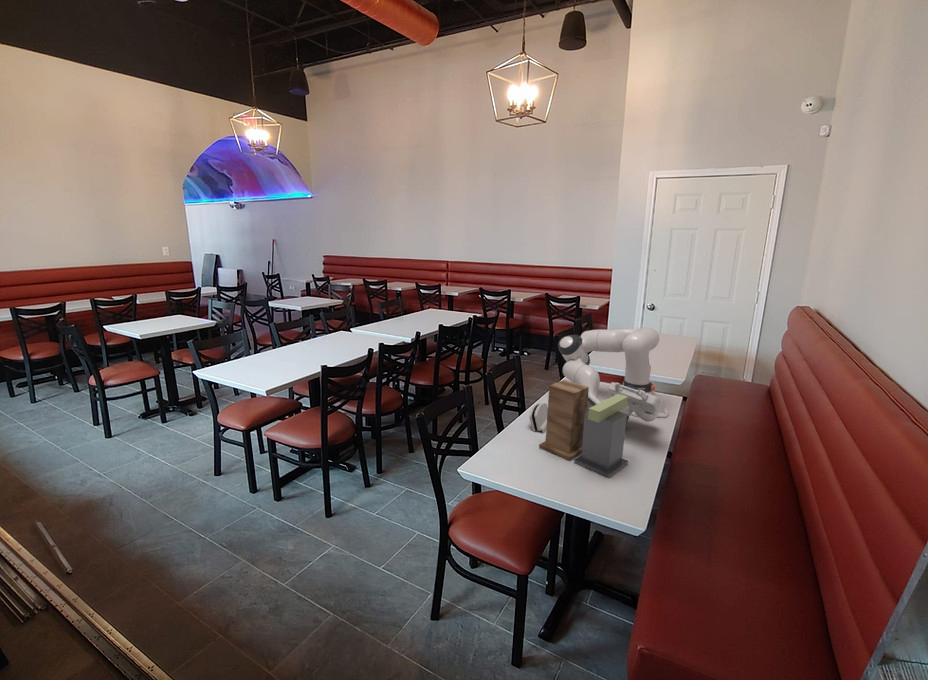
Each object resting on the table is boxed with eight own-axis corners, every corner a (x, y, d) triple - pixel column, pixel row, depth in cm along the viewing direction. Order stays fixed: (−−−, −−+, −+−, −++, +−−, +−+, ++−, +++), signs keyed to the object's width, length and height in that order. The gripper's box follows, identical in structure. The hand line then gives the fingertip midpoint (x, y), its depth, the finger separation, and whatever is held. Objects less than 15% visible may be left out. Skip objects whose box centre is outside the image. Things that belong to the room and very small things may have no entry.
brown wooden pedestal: (559, 436, 186) (563, 377, 179) (589, 448, 176) (595, 386, 170) (539, 447, 176) (542, 385, 170) (569, 461, 166) (574, 395, 160)
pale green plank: (617, 403, 169) (618, 393, 168) (627, 406, 167) (628, 396, 166) (587, 419, 155) (588, 408, 154) (598, 422, 153) (599, 411, 152)
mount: (593, 450, 175) (598, 403, 170) (627, 464, 165) (633, 414, 160) (574, 463, 165) (578, 413, 160) (608, 478, 155) (614, 425, 150)
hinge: (543, 433, 188) (537, 411, 187) (533, 435, 191) (527, 413, 190) (554, 419, 203) (548, 398, 202) (544, 420, 205) (538, 400, 204)
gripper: (619, 386, 191) (607, 373, 181) (665, 402, 176) (655, 389, 167) (612, 399, 190) (600, 386, 180) (659, 416, 175) (648, 404, 166)
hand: (627, 388), depth 173 cm, fingers open, 8 cm apart
